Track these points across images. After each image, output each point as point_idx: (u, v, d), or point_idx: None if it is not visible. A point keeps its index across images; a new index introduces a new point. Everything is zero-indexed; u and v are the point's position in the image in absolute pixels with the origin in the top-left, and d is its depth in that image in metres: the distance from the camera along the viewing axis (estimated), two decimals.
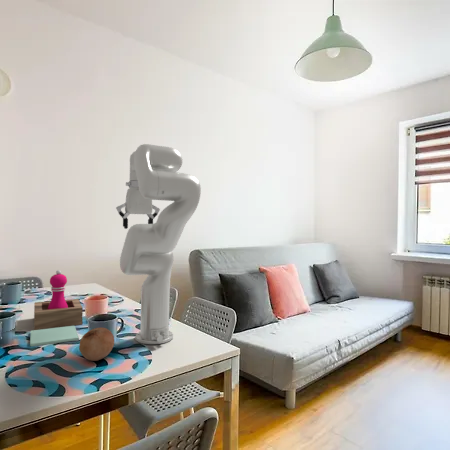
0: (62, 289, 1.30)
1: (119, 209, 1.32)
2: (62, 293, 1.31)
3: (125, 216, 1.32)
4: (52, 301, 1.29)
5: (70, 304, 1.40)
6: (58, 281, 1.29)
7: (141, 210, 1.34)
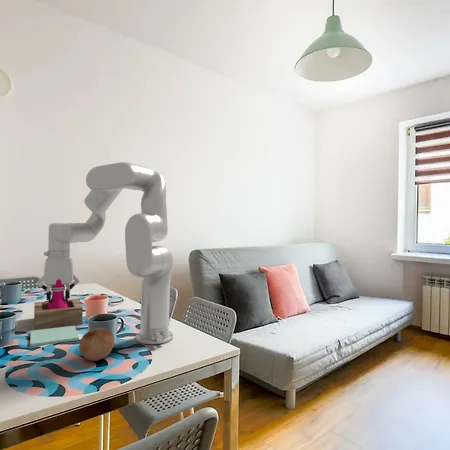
0: (62, 289, 1.30)
1: (40, 284, 1.28)
2: (62, 293, 1.31)
3: (48, 290, 1.28)
4: (52, 301, 1.29)
5: (70, 304, 1.40)
6: (57, 281, 1.29)
7: None
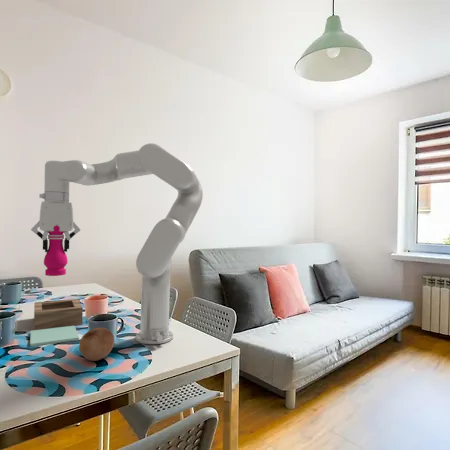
0: (60, 237, 1.13)
1: (35, 230, 1.11)
2: (60, 242, 1.14)
3: (44, 237, 1.12)
4: (49, 250, 1.12)
5: (70, 304, 1.40)
6: (55, 227, 1.12)
7: None
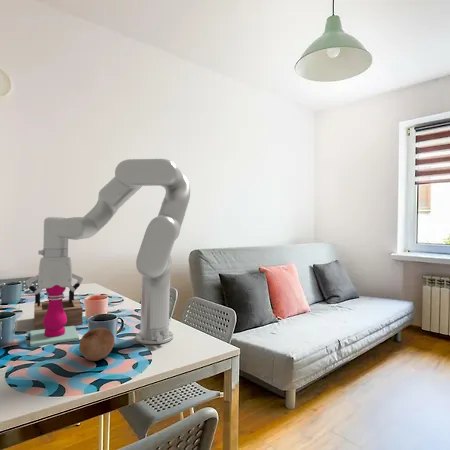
0: (60, 297, 1.14)
1: (29, 283, 1.10)
2: (60, 302, 1.14)
3: (36, 291, 1.11)
4: (48, 311, 1.13)
5: (70, 304, 1.40)
6: (55, 289, 1.12)
7: (57, 283, 1.12)
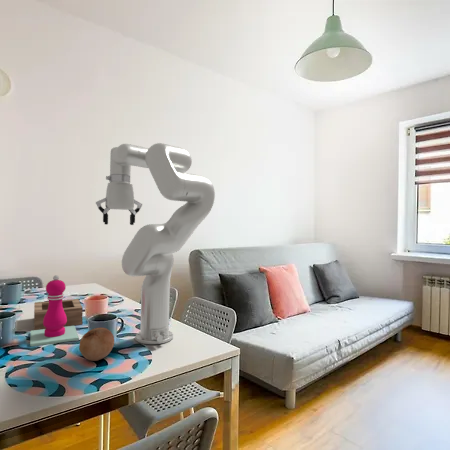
0: (60, 297, 1.14)
1: (99, 204, 1.26)
2: (60, 302, 1.14)
3: (105, 211, 1.26)
4: (48, 311, 1.13)
5: (70, 304, 1.40)
6: (55, 289, 1.12)
7: (122, 205, 1.28)
